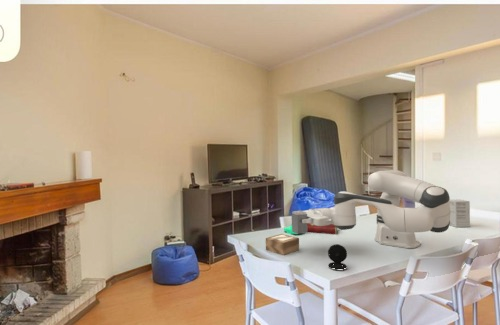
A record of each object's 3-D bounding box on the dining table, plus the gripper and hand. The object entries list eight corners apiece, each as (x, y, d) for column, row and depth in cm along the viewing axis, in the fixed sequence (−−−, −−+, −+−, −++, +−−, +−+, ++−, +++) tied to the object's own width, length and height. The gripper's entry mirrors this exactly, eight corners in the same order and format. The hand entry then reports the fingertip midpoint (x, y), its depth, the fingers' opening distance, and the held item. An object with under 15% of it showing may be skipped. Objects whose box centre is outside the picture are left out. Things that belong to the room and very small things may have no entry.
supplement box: (470, 227, 194) (470, 201, 194) (455, 227, 194) (455, 201, 194) (460, 223, 204) (460, 199, 203) (446, 224, 204) (446, 199, 204)
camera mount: (283, 232, 191) (282, 215, 191) (292, 230, 195) (292, 214, 195) (296, 236, 181) (295, 219, 180) (305, 234, 185) (305, 217, 185)
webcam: (346, 265, 131) (346, 242, 131) (347, 271, 124) (347, 247, 123) (328, 264, 133) (327, 241, 133) (328, 270, 126) (327, 246, 125)
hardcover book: (335, 235, 182) (335, 228, 182) (301, 232, 190) (301, 225, 190) (338, 230, 193) (337, 224, 193) (305, 228, 201) (305, 221, 201)
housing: (301, 230, 152) (301, 210, 152) (307, 232, 147) (307, 212, 147) (292, 231, 150) (291, 211, 150) (297, 233, 145) (297, 213, 144)
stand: (299, 249, 154) (299, 237, 154) (283, 255, 146) (283, 242, 145) (281, 244, 163) (281, 233, 162) (265, 249, 154) (265, 237, 154)
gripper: (334, 227, 144) (310, 230, 138) (310, 219, 162) (287, 222, 157) (334, 214, 144) (309, 217, 138) (309, 208, 162) (287, 210, 157)
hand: (297, 219), depth 148 cm, fingers closed on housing, 5 cm apart
